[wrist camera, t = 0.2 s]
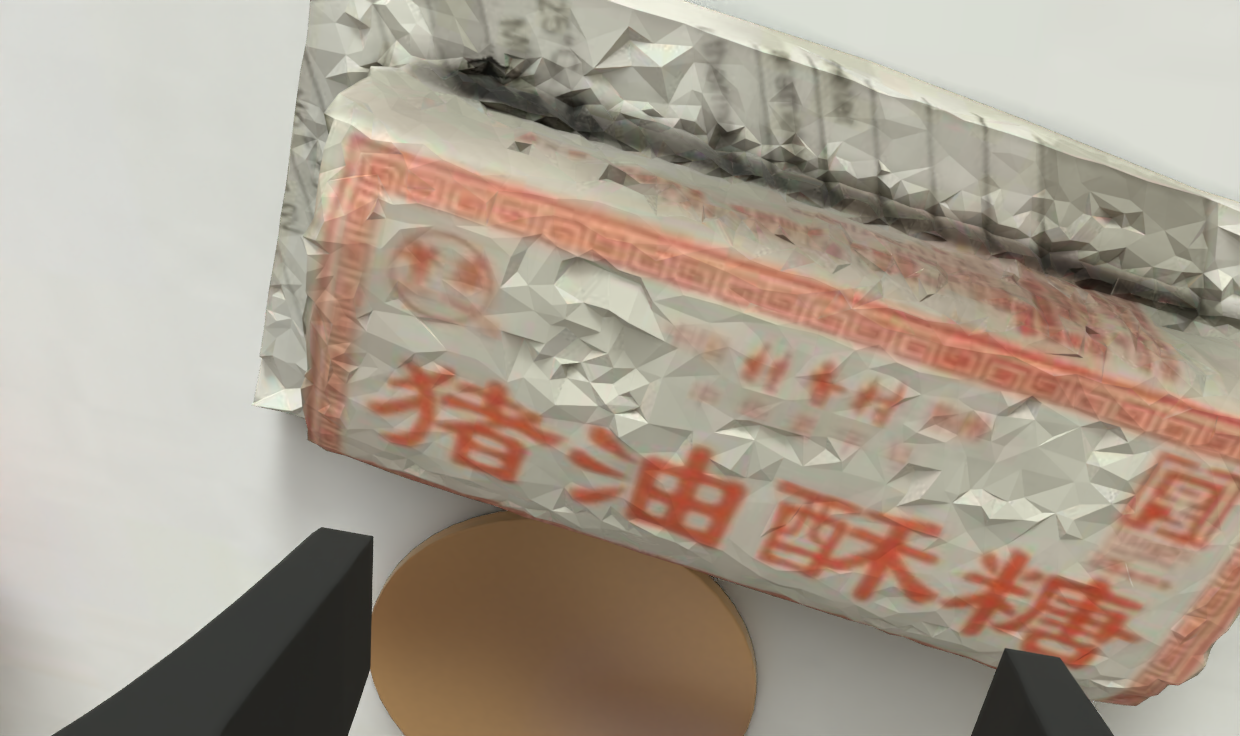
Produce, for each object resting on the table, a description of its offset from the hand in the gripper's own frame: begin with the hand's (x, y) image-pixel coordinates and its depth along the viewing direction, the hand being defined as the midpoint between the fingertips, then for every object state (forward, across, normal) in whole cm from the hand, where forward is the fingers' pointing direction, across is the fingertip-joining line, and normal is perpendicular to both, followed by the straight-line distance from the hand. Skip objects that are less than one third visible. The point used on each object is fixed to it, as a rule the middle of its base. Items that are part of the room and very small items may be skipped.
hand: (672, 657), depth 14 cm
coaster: (+10, +2, +10) cm, 15 cm away
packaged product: (+10, -1, 0) cm, 10 cm away
